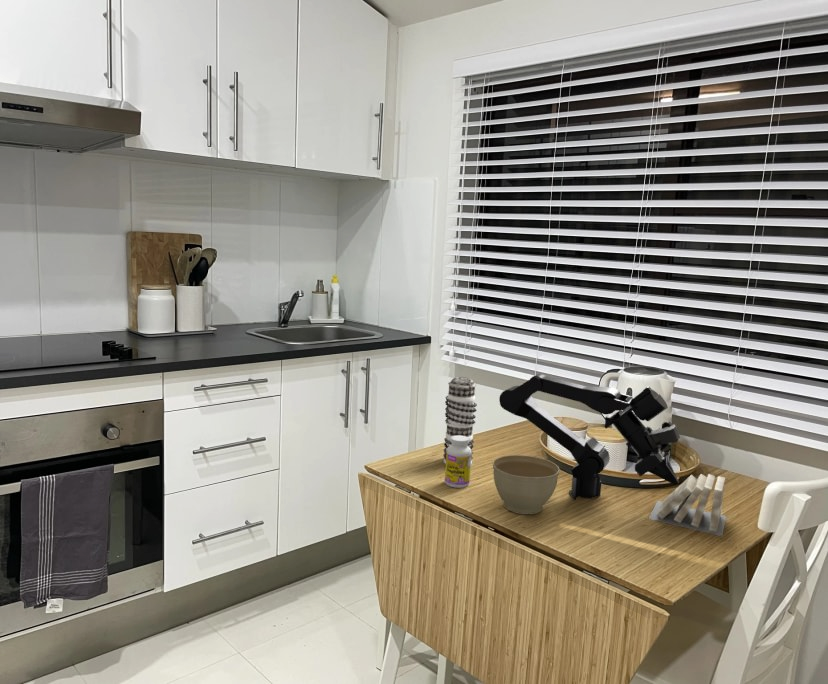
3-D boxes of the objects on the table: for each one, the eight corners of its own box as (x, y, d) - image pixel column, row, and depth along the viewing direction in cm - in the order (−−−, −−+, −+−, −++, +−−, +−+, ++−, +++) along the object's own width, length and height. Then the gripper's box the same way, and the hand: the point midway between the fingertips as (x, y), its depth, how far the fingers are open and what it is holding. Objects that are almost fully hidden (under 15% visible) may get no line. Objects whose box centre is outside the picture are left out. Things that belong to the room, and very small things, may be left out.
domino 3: (690, 524, 153) (704, 486, 151) (695, 510, 162) (708, 473, 159) (698, 527, 152) (711, 489, 150) (702, 512, 161) (715, 476, 159)
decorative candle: (435, 460, 193) (439, 377, 189) (459, 454, 199) (464, 374, 195) (455, 469, 186) (460, 383, 182) (479, 464, 192) (484, 380, 188)
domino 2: (673, 519, 155) (696, 486, 152) (679, 505, 164) (700, 473, 160) (679, 523, 154) (702, 490, 151) (685, 508, 163) (707, 477, 160)
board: (648, 522, 156) (648, 518, 156) (657, 504, 168) (657, 500, 168) (721, 540, 149) (722, 535, 149) (725, 519, 160) (726, 515, 160)
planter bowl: (568, 509, 162) (572, 467, 161) (530, 527, 151) (533, 482, 149) (516, 489, 174) (519, 450, 172) (476, 505, 162) (479, 463, 161)
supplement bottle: (441, 485, 174) (443, 439, 172) (449, 477, 180) (451, 432, 178) (465, 490, 171) (468, 443, 169) (472, 482, 177) (475, 436, 175)
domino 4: (709, 530, 151) (714, 489, 150) (713, 515, 160) (718, 476, 158) (716, 532, 151) (722, 490, 149) (720, 516, 159) (725, 477, 158)
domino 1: (656, 514, 157) (686, 487, 153) (663, 500, 165) (691, 474, 161) (662, 519, 156) (691, 492, 152) (668, 505, 165) (696, 479, 161)
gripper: (654, 422, 150) (700, 477, 147) (666, 405, 166) (709, 455, 163) (616, 448, 155) (660, 503, 152) (631, 429, 171) (672, 478, 168)
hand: (677, 483), depth 158 cm, fingers closed
